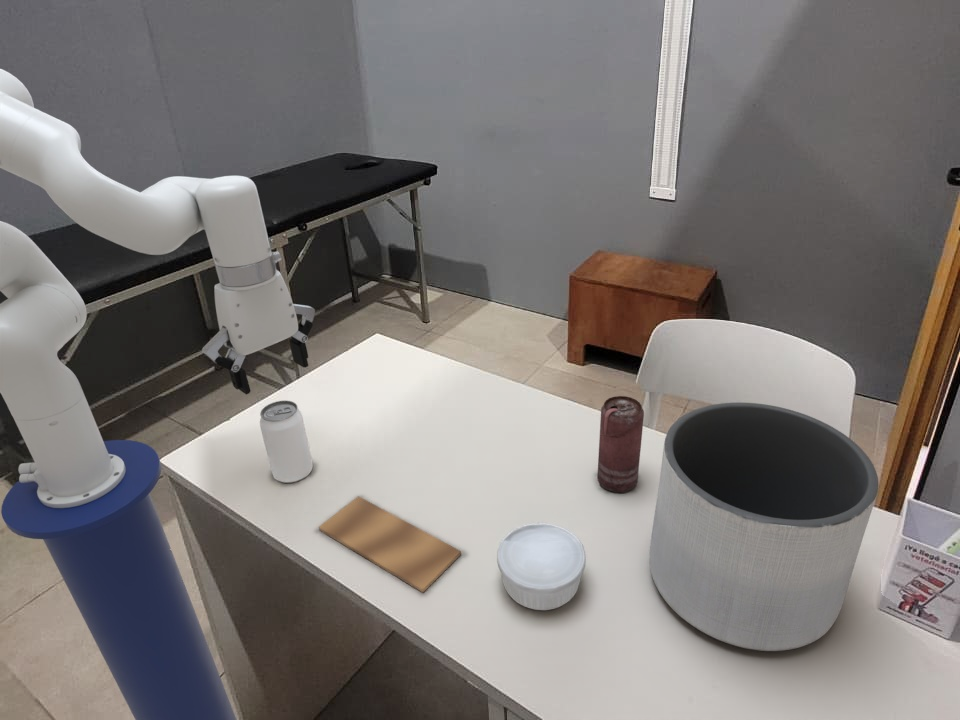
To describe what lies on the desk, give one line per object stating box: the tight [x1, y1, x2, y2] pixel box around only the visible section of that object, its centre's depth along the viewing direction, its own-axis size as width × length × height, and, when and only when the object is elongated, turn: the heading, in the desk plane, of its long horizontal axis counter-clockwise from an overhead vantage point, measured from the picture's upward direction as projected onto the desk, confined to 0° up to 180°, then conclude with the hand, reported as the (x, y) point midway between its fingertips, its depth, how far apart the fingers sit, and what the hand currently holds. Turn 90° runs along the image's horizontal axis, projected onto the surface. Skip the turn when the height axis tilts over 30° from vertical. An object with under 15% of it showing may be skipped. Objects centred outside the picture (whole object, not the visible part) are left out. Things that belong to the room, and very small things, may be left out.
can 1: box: [259, 400, 314, 484], centre depth 103 cm, size 6×6×12 cm
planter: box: [649, 402, 879, 652], centre depth 78 cm, size 23×23×20 cm
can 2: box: [596, 395, 645, 494], centre depth 97 cm, size 6×6×14 cm
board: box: [318, 496, 462, 593], centre depth 91 cm, size 20×8×1 cm, turn 53°
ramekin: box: [496, 522, 587, 611], centre depth 82 cm, size 11×11×5 cm
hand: (273, 377), depth 97 cm, fingers open, 9 cm apart
